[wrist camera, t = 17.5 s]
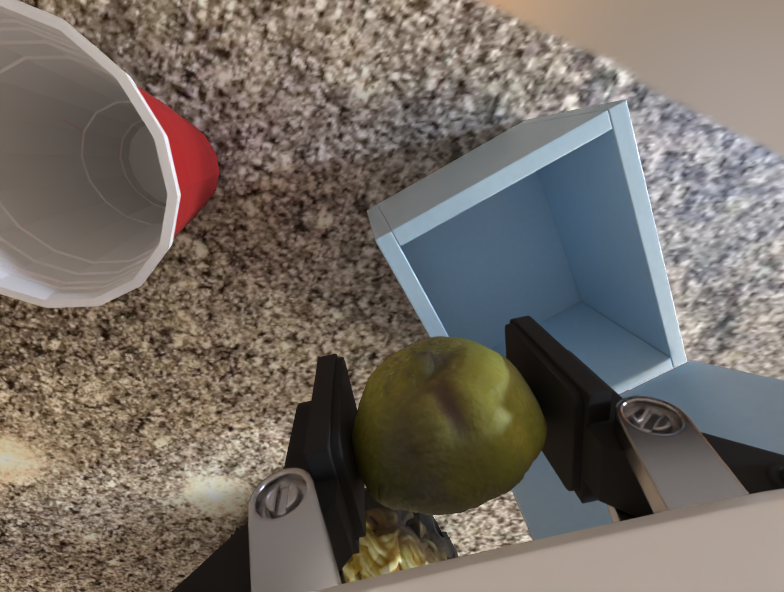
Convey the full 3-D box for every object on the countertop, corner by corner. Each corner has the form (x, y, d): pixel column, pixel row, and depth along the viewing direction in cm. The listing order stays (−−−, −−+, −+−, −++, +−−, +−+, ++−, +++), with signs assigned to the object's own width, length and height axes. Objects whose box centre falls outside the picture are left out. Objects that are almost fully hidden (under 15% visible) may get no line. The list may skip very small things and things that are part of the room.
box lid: (674, 872, 6) (844, 1192, 6) (1574, 549, 5) (1858, 924, 4) (495, 454, 22) (536, 528, 22) (690, 359, 21) (736, 436, 21)
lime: (519, 349, 12) (626, 473, 7) (431, 447, 13) (474, 609, 8) (412, 277, 11) (460, 374, 6) (324, 395, 12) (307, 551, 7)
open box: (366, 210, 26) (374, 239, 17) (526, 119, 25) (626, 98, 16) (454, 368, 32) (496, 454, 23) (587, 300, 31) (687, 361, 22)
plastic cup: (67, 50, 21) (-249, -66, 10) (259, 88, 23) (171, 25, 12) (89, 233, 25) (-123, 296, 14) (253, 254, 26) (182, 326, 15)
